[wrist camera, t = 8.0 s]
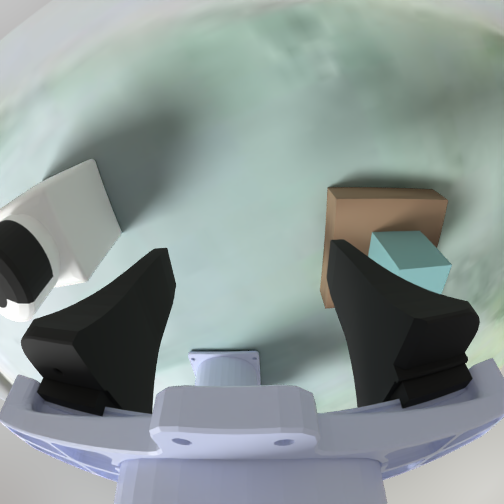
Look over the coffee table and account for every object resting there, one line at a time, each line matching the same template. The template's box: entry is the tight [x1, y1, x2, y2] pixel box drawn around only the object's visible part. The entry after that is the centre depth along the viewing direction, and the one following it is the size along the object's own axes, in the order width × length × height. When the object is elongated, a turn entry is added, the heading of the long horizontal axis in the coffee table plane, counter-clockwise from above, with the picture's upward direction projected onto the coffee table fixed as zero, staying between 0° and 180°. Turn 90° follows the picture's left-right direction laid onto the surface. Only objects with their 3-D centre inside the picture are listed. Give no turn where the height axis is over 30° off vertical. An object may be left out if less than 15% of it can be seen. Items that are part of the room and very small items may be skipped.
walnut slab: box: [320, 187, 448, 309], centre depth 22 cm, size 10×10×3 cm
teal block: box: [368, 231, 452, 294], centre depth 19 cm, size 4×4×5 cm
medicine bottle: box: [0, 159, 122, 322], centre depth 16 cm, size 7×7×12 cm
